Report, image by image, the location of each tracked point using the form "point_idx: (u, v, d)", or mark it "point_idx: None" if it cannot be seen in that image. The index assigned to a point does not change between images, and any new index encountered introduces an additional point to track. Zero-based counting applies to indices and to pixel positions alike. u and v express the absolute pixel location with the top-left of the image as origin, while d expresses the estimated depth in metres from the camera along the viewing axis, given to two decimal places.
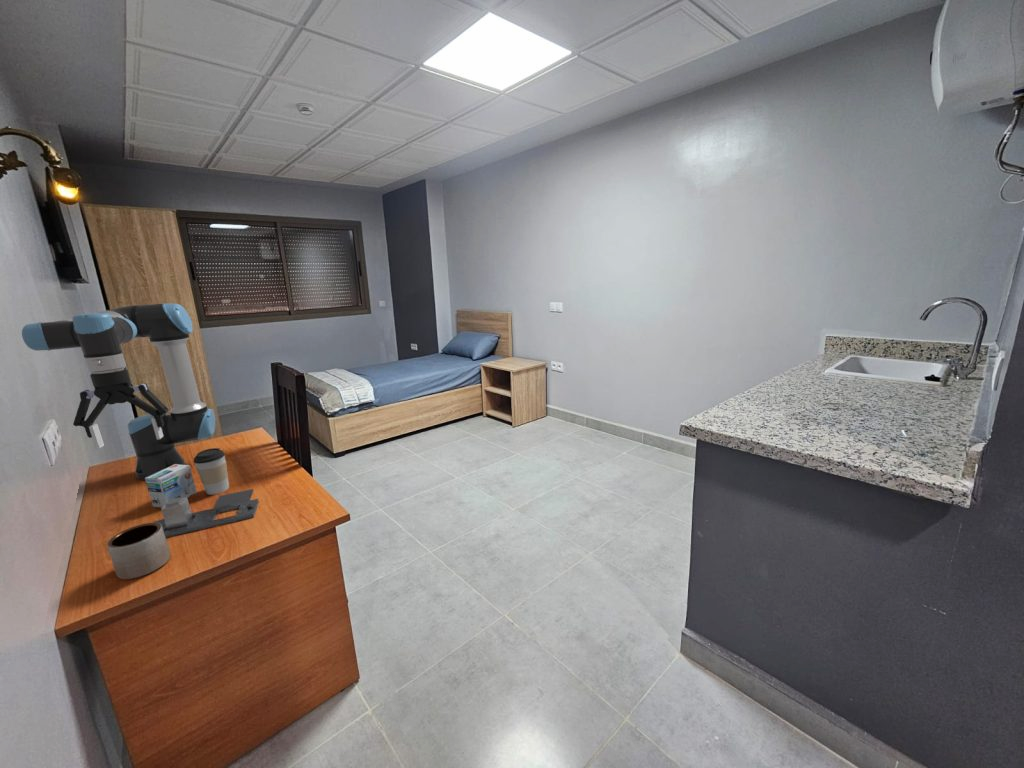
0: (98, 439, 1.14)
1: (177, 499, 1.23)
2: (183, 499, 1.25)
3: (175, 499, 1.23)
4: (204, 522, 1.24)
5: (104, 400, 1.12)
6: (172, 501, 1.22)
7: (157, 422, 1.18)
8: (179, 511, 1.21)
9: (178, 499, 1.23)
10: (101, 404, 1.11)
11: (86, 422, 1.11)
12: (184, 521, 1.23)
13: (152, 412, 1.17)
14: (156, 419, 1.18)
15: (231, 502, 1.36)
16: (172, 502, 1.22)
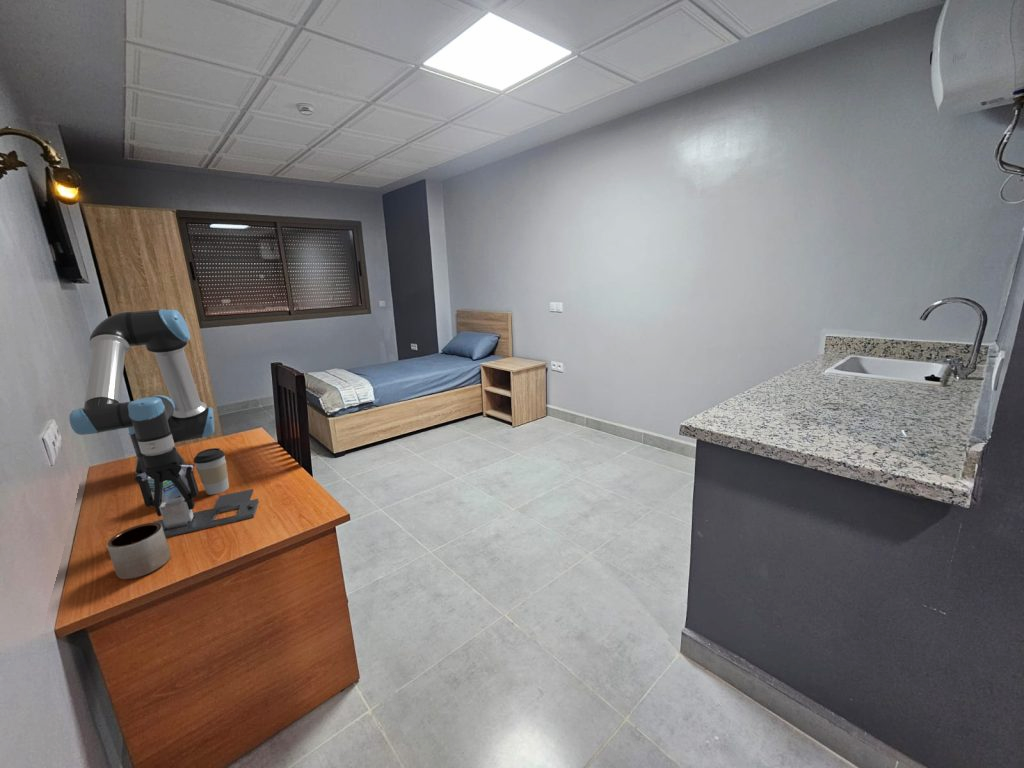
0: None
1: (177, 498, 1.23)
2: (183, 499, 1.25)
3: (175, 499, 1.23)
4: (204, 522, 1.24)
5: (158, 479, 1.18)
6: (172, 501, 1.22)
7: (188, 505, 1.24)
8: (179, 511, 1.21)
9: (178, 499, 1.23)
10: (157, 483, 1.18)
11: (155, 503, 1.20)
12: (184, 521, 1.23)
13: (186, 495, 1.22)
14: (187, 502, 1.23)
15: (231, 502, 1.36)
16: (172, 502, 1.22)
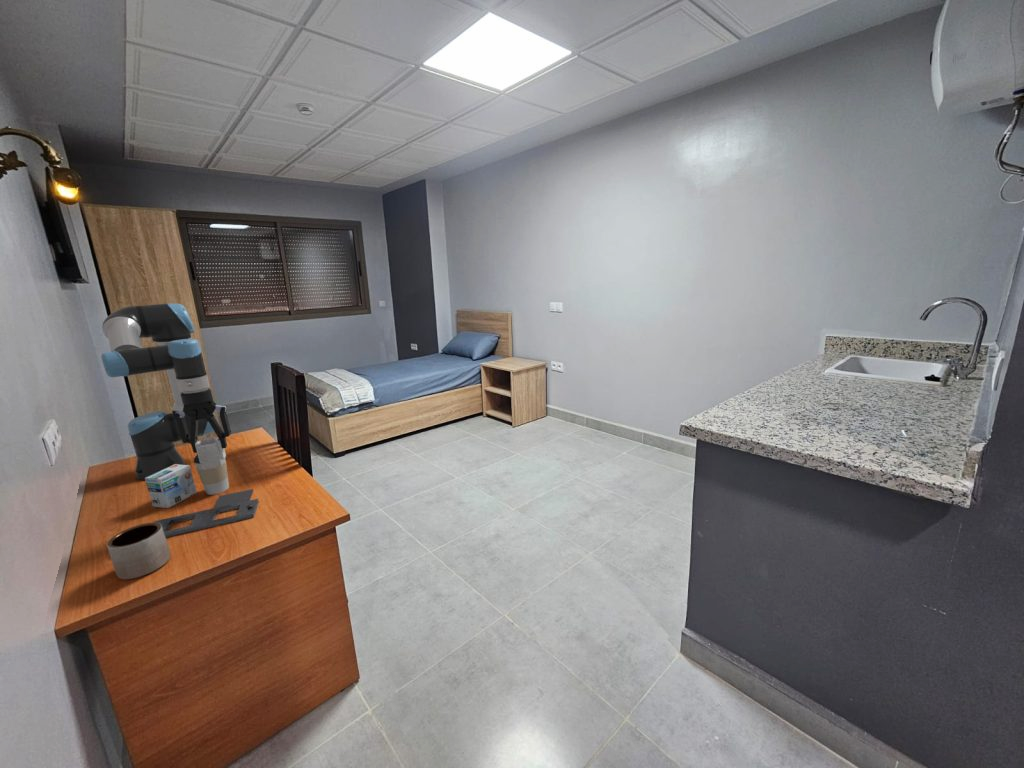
0: None
1: (211, 437, 1.30)
2: (216, 439, 1.32)
3: (209, 438, 1.30)
4: (204, 522, 1.24)
5: (194, 417, 1.25)
6: (206, 439, 1.29)
7: (221, 444, 1.31)
8: (213, 448, 1.28)
9: (212, 438, 1.30)
10: (194, 421, 1.26)
11: (191, 439, 1.27)
12: (217, 458, 1.30)
13: (219, 434, 1.29)
14: (221, 441, 1.30)
15: (231, 502, 1.36)
16: (207, 440, 1.29)
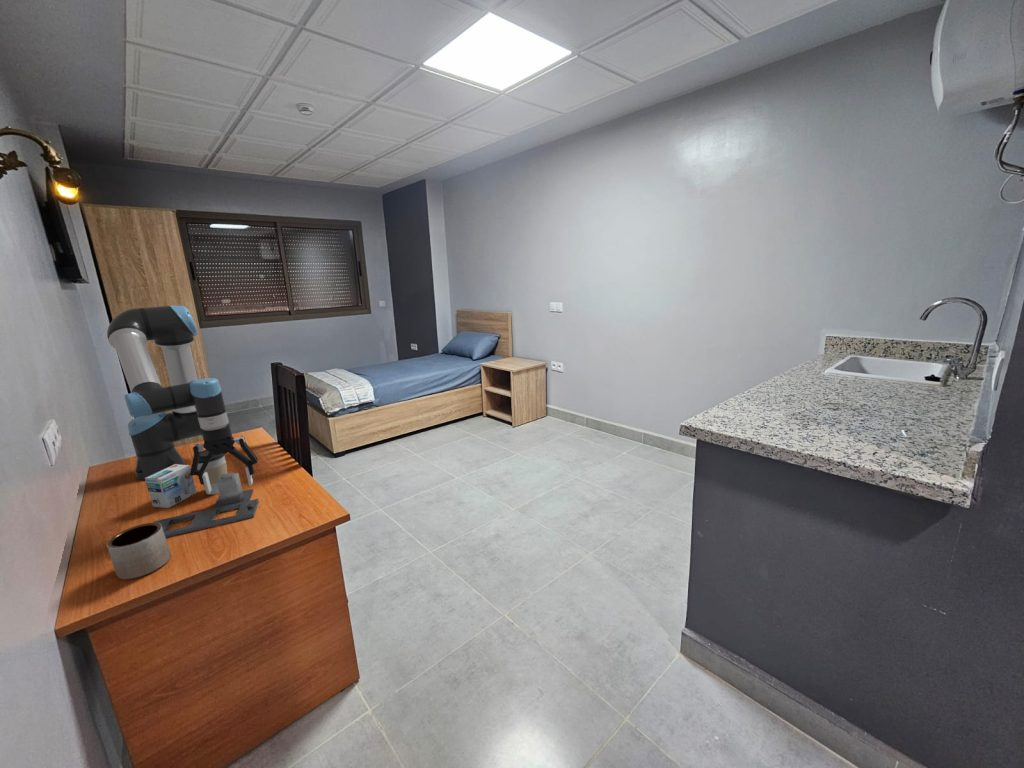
0: (208, 485, 1.34)
1: (230, 474, 1.37)
2: (235, 474, 1.38)
3: (228, 474, 1.36)
4: (204, 522, 1.24)
5: (212, 452, 1.31)
6: (226, 475, 1.35)
7: (249, 470, 1.37)
8: (232, 484, 1.35)
9: (231, 474, 1.36)
10: (210, 455, 1.31)
11: (200, 472, 1.31)
12: (236, 494, 1.36)
13: (246, 462, 1.36)
14: (249, 468, 1.37)
15: None
16: (226, 476, 1.35)
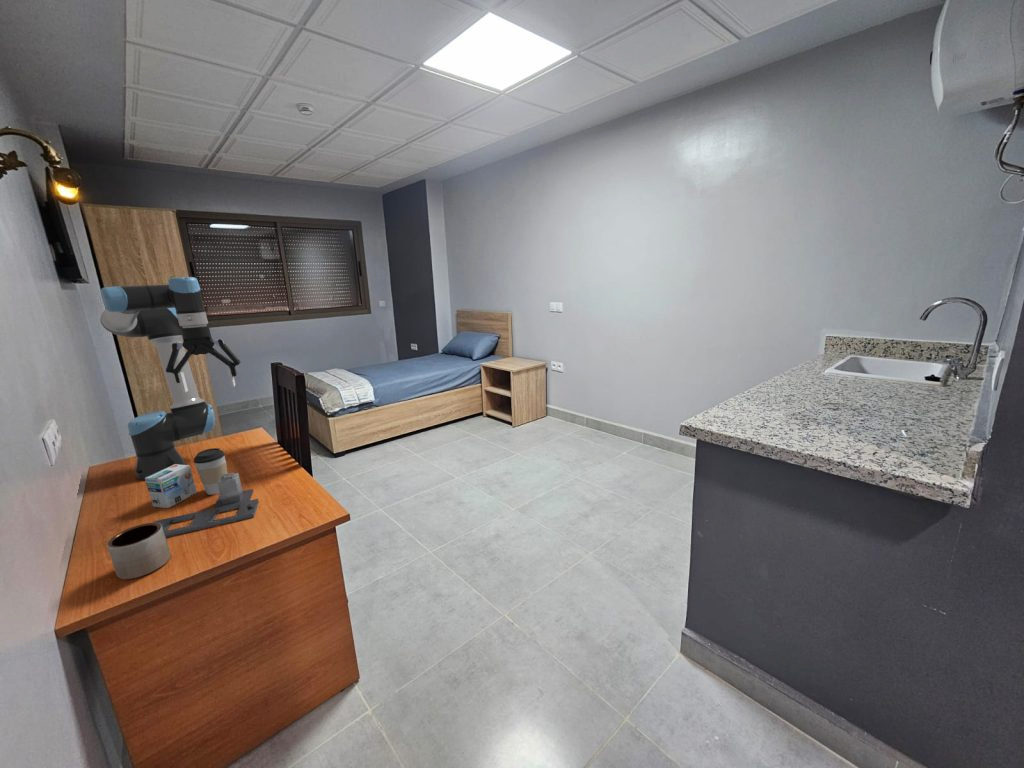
0: (184, 385, 1.35)
1: (230, 474, 1.37)
2: (235, 474, 1.38)
3: (228, 474, 1.36)
4: (204, 522, 1.24)
5: (191, 351, 1.33)
6: (226, 475, 1.35)
7: (232, 372, 1.39)
8: (232, 484, 1.35)
9: (231, 474, 1.36)
10: (188, 354, 1.32)
11: (176, 369, 1.32)
12: (236, 494, 1.36)
13: (228, 363, 1.38)
14: (231, 369, 1.39)
15: None
16: (226, 476, 1.35)
